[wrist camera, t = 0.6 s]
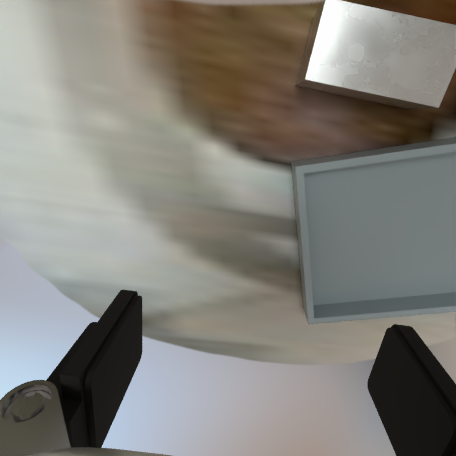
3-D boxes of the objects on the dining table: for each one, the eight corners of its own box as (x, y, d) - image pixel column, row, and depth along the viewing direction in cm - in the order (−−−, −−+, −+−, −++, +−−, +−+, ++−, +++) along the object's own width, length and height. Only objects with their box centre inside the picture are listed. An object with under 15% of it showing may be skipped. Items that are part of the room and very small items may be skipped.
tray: (520, 127, 31) (552, 129, 28) (493, 290, 38) (516, 306, 35) (291, 161, 34) (295, 166, 31) (303, 307, 41) (308, 324, 38)
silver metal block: (430, 44, 30) (472, 28, 24) (405, 108, 32) (438, 107, 26) (311, 19, 29) (326, -3, 24) (295, 85, 32) (305, 79, 26)
